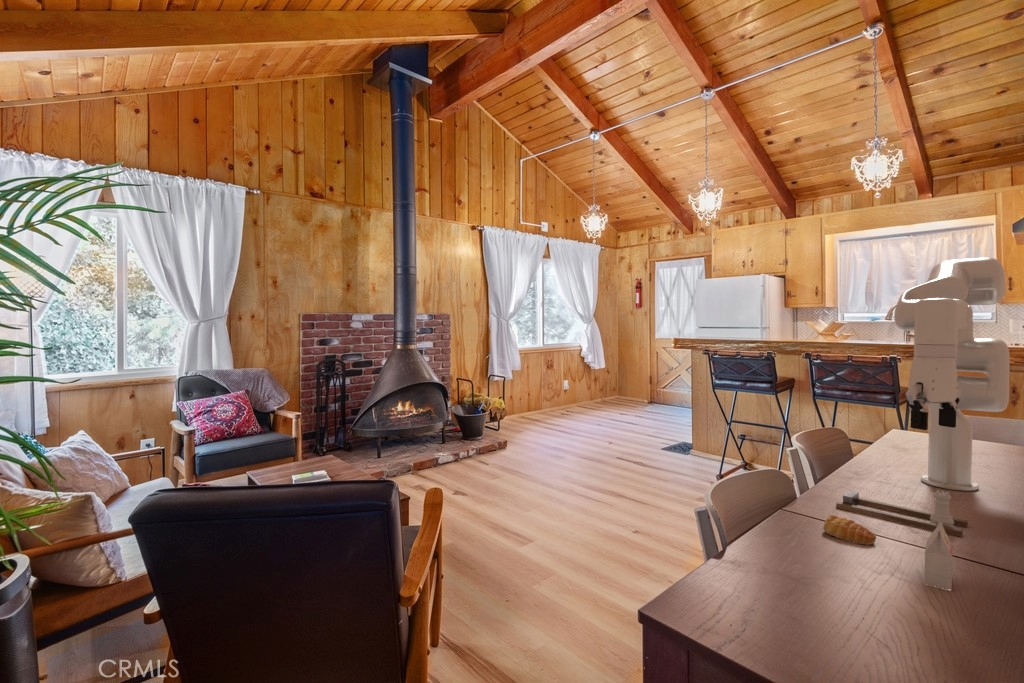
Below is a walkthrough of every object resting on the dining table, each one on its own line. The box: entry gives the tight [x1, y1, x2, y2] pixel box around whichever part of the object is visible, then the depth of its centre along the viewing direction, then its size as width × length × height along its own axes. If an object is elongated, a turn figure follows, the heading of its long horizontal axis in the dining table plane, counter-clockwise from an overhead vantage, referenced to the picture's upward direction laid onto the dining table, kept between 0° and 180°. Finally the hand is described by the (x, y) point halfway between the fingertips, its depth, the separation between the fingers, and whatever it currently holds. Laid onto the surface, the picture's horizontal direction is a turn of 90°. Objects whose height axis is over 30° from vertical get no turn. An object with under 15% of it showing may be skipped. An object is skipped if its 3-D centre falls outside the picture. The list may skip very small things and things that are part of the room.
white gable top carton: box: [923, 522, 954, 590], centre depth 92 cm, size 4×7×10 cm, turn 138°
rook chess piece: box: [929, 489, 956, 528], centre depth 116 cm, size 4×4×8 cm
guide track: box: [835, 497, 969, 538], centre depth 122 cm, size 9×24×1 cm, turn 41°
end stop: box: [842, 490, 860, 506], centre depth 129 cm, size 6×2×3 cm, turn 132°
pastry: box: [822, 514, 877, 546], centre depth 110 cm, size 9×7×4 cm
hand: (933, 427), depth 115 cm, fingers open, 9 cm apart
